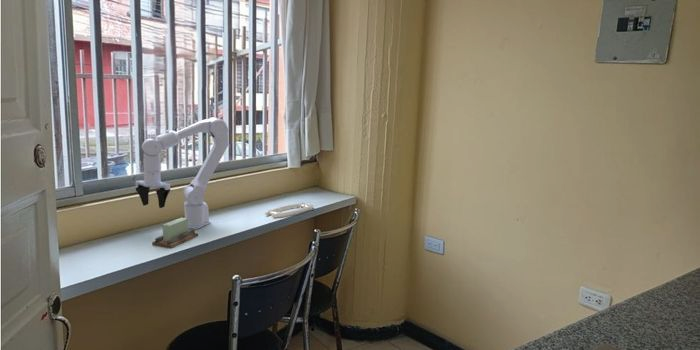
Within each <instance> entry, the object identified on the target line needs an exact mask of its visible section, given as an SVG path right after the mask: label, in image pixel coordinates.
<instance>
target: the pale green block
mask: <svg viewBox="0 0 700 350" xmlns="http://www.w3.org/2000/svg"><path fill="white" fill-rule="evenodd" d="M188 231H189V228H188V219H187V218H185V217H180V218H177V219H173V220H171V221H168V222H166V223H164V224H162V235H163V241H166V242H167V240H169V239H172V238H174V237H176V236H179V235H181V234H183V233H185V232H188Z"/></svg>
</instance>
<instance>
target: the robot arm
mask: <svg viewBox="0 0 700 350" xmlns="http://www.w3.org/2000/svg"><path fill="white" fill-rule="evenodd" d="M199 133H205V134H210V136H211V138H212V142H213V145H212V147H211V148H210V151H209V153H207V156H206V157H205V159H204V161H203V163H202V165H201V166H200V169H199V171H198V172H197V174H196V176H195V178H194V179H192V180H191V181H190V183H189V184H188V185H187V186H186V187H184V189H183V192H182V193H183V197H184V198H185V201H184V203H183V205H184V209H183V211H184V218H187V219H188V229H195V230H198V229H200V228H202V227H205V226H207V225H210V224H211V221H210V218H209V217H210V214H209V212H210V211H209V210H210V209H209V206H208V204H207V202H205V201H204V200H205V193H206V191H207V187H208V183H209V182H210V180H211V177H212V176H213V175H214V172H215V170H216V168H217V167H218V165H219V163H220V162H221V159H222V158H223V157H224V156H223V155H224V154H225V152H226V150H227V148H228V146H229V127H228V126H227V123H226V122H225V121H224V120H223V119H220V118H218V117H215V116H214V117H209V118H205V119H203V120H199V121H198V122H195V123H193V124H191V125H189V126H186V127H184V128H182V129H180V130H177V131H175V130H169V129H167V130H165V131H164V133H161V134H159V135H153V136H152V138H147V139H145V140H143V143H142V145H141V149H142V151H143V154H142V155H143V156H142V157H143V160H142V161H143V179H142V180H136V181H135V180H134V181H135V183H134V184H135V191H136V192H137V194H138V195H139V197H140V200H141V203H142V206H148V205H149V200H150V199H149V194H150V188H152V189H153V188H154V189H156V190H155V192H156V193H155V194H156V195H157V200H158V207H159V209H163V208H165V205H166V202H167V201H166V200H167V197H168V195H169V193H170V192H171V184H170V183H167V182H163V181H162V178H161V159H160V153H161V151H166V150H167V149H170V148H172V147H175V146H176V145H179V144H180V141H181V140H183V139H186V138H188V137H191V136H194V135H196V134H199Z"/></svg>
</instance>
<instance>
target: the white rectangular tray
mask: <svg viewBox="0 0 700 350" xmlns="http://www.w3.org/2000/svg"><path fill="white" fill-rule="evenodd" d="M297 207H298V208H299V207H301V208H299V209H298V208H297ZM291 208H292V209H293V210H291ZM296 208H297V209H296ZM312 209H314V205H312V204H306V203H305V202H302V201H301V202H298V203H292V204H288V205H282V206H279V207H278V206H277V207H276V208H273V209H271V208H270V209H268V211H266V212H264V215H265V216H266V217H268V216H271V218H274V219H277V218H278V219H279V218H285V217H290V216H295V214H296V215H299V214H302V213H305V211H306V212H308V211H312ZM287 210H289V211H287ZM282 211H285V212H282Z"/></svg>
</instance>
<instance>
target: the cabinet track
mask: <svg viewBox="0 0 700 350" xmlns="http://www.w3.org/2000/svg"><path fill="white" fill-rule="evenodd" d="M198 236H199V233H198V232H196V229H193V228H191V229H190V230H188V232H185V233H183V234H181V235H179V236H176V237H174V238H172V239H169V240H167V242H166V241H163V234H162V235H160V236H158V237H156V238H154V241H152V242H151V244H152V246H156V247H161V248H169V249H173V248H175V247H177V246H179V245H181V244H184V243H185V242H188V241H190V240H192V239H194V238H197V237H198Z"/></svg>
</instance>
